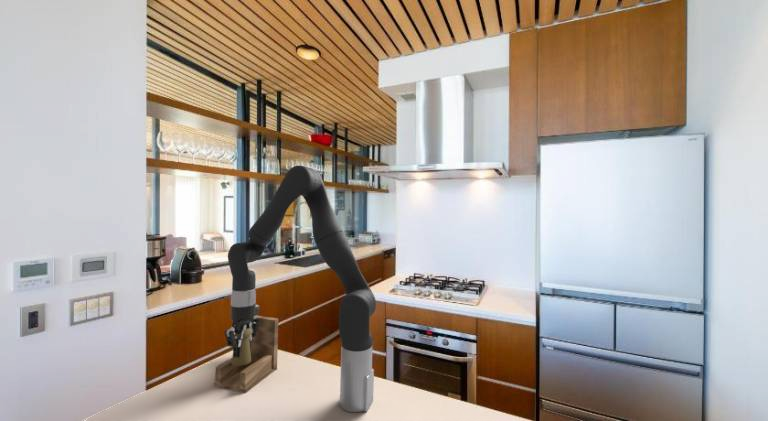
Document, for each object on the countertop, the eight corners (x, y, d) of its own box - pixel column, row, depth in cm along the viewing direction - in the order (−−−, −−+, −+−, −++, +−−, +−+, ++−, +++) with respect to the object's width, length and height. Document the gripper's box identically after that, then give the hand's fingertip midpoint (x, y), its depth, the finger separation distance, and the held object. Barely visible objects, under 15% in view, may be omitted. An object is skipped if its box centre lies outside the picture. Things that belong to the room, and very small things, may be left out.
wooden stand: (277, 368, 114) (278, 318, 114) (245, 392, 98) (247, 334, 99) (248, 363, 117) (250, 314, 117) (214, 386, 102) (215, 329, 102)
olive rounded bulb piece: (243, 355, 109) (244, 323, 109) (255, 360, 106) (256, 327, 106) (227, 362, 104) (228, 328, 104) (238, 367, 101) (239, 332, 101)
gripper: (237, 310, 97) (235, 366, 97) (266, 298, 111) (265, 347, 111) (217, 307, 99) (215, 362, 99) (248, 296, 113) (247, 344, 113)
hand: (242, 354), depth 105 cm, fingers closed on olive rounded bulb piece, 4 cm apart
